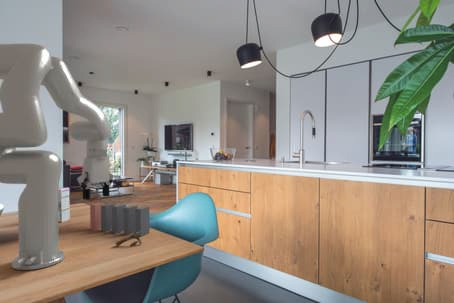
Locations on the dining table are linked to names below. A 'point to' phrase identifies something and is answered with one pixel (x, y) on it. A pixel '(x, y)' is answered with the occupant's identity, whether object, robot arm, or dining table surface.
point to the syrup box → (63, 204)
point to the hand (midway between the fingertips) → (96, 197)
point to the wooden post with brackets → (129, 239)
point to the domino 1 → (95, 216)
